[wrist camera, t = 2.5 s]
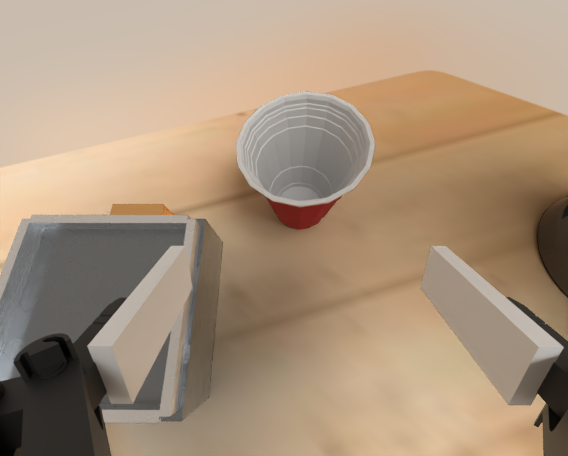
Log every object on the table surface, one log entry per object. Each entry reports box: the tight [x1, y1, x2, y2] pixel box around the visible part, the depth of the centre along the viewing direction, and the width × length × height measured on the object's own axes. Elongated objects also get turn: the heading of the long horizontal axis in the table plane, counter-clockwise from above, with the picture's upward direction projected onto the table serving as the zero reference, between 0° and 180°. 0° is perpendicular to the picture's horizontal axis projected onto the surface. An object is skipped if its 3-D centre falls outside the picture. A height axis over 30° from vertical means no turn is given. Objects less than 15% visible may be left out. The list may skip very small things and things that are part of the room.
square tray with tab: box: [0, 204, 223, 423], centre depth 24 cm, size 15×17×8 cm
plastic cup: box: [236, 91, 375, 229], centre depth 26 cm, size 11×11×12 cm
